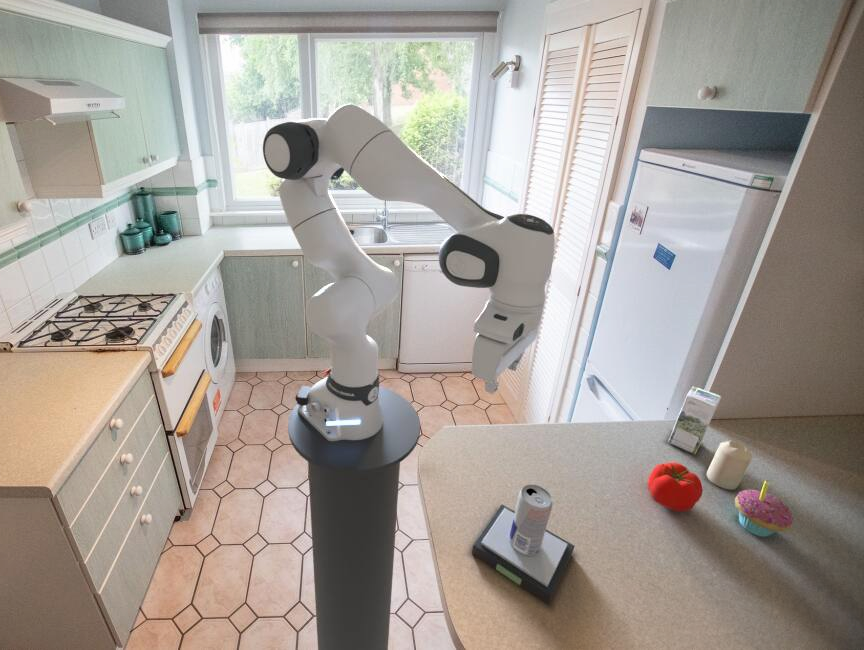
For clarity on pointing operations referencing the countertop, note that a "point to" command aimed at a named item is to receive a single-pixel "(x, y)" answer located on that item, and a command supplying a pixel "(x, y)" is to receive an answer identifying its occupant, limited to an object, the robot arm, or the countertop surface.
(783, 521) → the cupcake
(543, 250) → the robot arm
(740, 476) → the candle
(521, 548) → the energy drink
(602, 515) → the countertop surface
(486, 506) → the countertop surface
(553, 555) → the scale
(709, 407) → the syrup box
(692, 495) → the tomato
